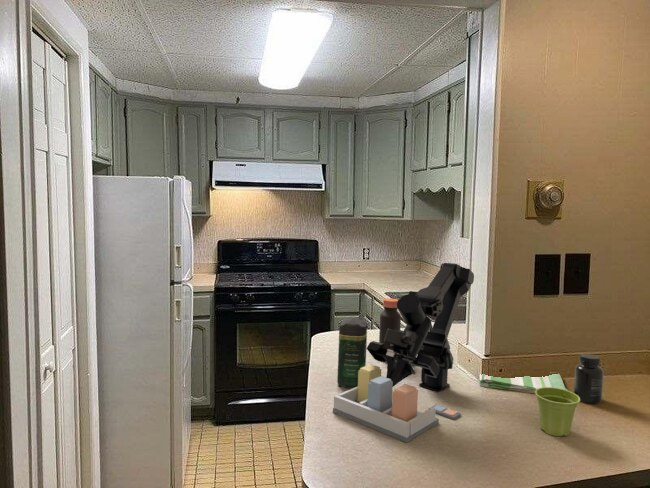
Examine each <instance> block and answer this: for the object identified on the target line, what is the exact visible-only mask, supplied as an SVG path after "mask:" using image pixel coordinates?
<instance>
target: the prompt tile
mask: <svg viewBox="0 0 650 488" xmlns="http://www.w3.org/2000/svg"><path fill="white" fill-rule="evenodd" d="M431 408H436V413H435V415H439V416H443V417H445V418H447V419H451V420H456V419H457V418H460V417H461V415H462V412H459V411H456V410H453V409H451V408H447V407H444V406H441V405H438V404H434V405H432V406H431V407H429V408H428V410H429V409H431Z"/></svg>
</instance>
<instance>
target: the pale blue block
mask: <svg viewBox="0 0 650 488" xmlns="http://www.w3.org/2000/svg"><path fill="white" fill-rule="evenodd" d="M393 388H394V386H393V382H392V381H391V379H389V378H386V376H382V375H381V376H380V377H378V378H375V379H373V380H370V383H368V406H367V407H369V408H372V409H374V410H377V411H380V412H382V413H383V411H385V410H387V409H389V408H391V407H392V396H393Z"/></svg>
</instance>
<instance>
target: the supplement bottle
mask: <svg viewBox="0 0 650 488" xmlns="http://www.w3.org/2000/svg"><path fill="white" fill-rule="evenodd" d="M600 365H601V357H600V356H599V355H595V354H591V353H590V354H589V353H582V354H580V355H579V363H578V364H576V366H575V368H574V382H573V384H574V385H573V393H575V394H576V395H578V396H579V397H580V402H581V403H583V404H584V403H585V404H590V405H599V404H601V402H603V391H604V375H605V374H604V373H605V372H604V370H603V368H602V367H600Z"/></svg>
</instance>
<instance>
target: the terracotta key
mask: <svg viewBox="0 0 650 488" xmlns="http://www.w3.org/2000/svg"><path fill="white" fill-rule="evenodd" d="M418 395H419V389H417V387H416V386H413V385H410V384H407V383H404V384H402V385H400V386H398V387H396V388H394V390H392V416H393V417H395V418H398V419H401V420H403V421H406V422H408V421H409V420H411V419H413V418H415V417H417V411H418V400H419V399H418V398H419V397H418Z"/></svg>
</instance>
